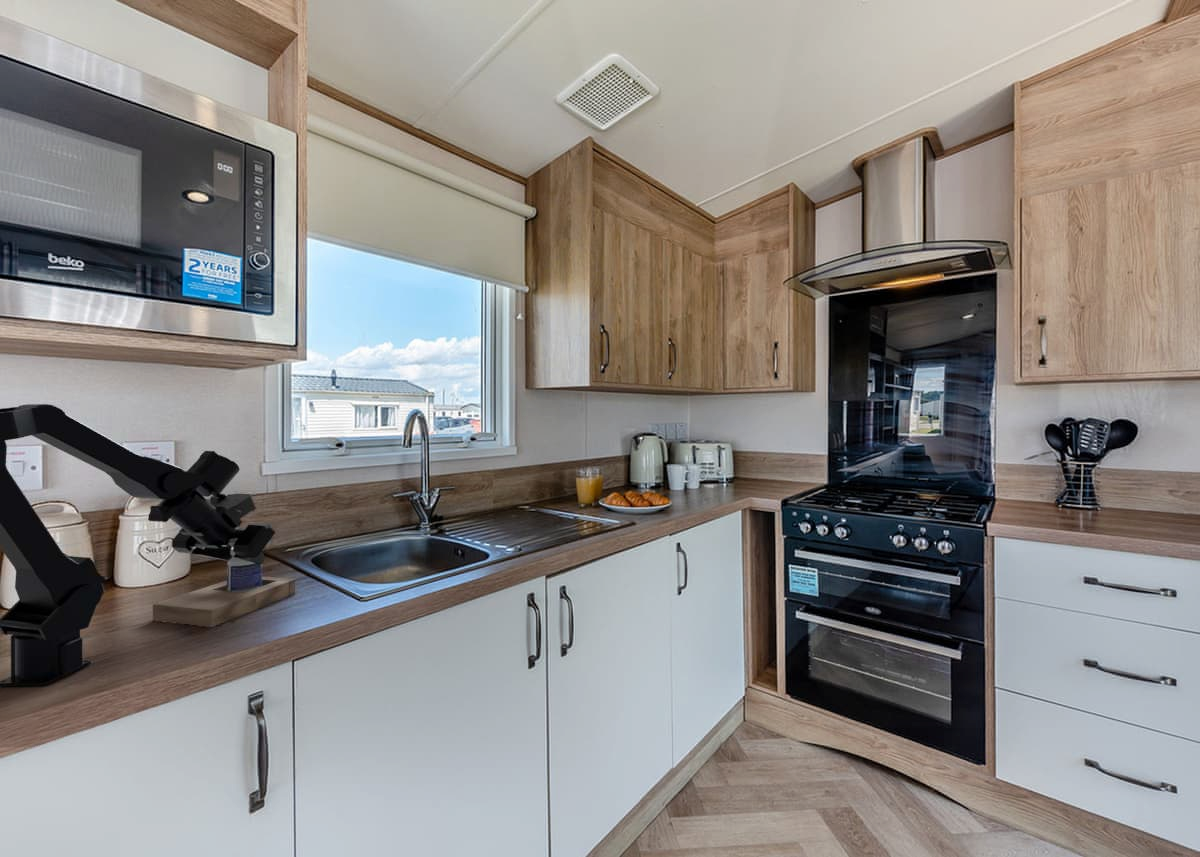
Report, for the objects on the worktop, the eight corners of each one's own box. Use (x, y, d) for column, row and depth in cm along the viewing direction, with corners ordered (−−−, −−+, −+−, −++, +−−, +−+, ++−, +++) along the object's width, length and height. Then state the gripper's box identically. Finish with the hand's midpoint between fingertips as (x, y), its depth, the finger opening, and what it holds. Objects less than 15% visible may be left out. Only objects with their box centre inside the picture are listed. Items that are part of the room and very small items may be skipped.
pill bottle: (268, 593, 102) (268, 544, 102) (240, 602, 97) (240, 551, 97) (248, 590, 104) (249, 542, 104) (219, 599, 99) (220, 548, 99)
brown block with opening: (211, 627, 87) (211, 610, 87) (152, 620, 90) (152, 604, 90) (295, 593, 105) (295, 579, 105) (243, 588, 108) (243, 574, 108)
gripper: (267, 482, 95) (311, 529, 106) (187, 480, 99) (238, 525, 110) (227, 532, 87) (280, 578, 98) (143, 527, 91) (202, 571, 102)
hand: (250, 561), depth 102 cm, fingers closed on pill bottle, 6 cm apart
